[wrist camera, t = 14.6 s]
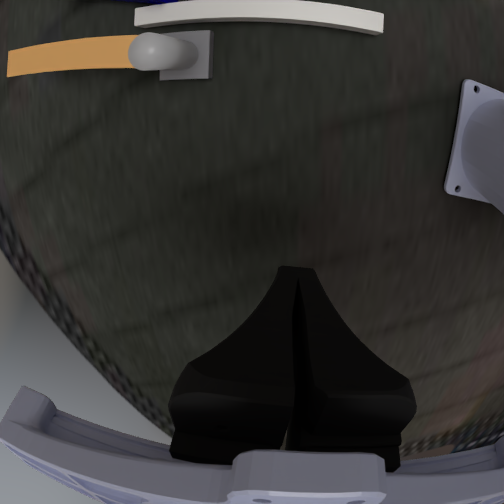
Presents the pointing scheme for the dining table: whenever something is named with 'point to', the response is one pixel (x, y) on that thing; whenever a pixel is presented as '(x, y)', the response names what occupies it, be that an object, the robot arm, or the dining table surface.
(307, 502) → the robot arm
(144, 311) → the dining table surface
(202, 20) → the rails
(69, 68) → the tan lever handle
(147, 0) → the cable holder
